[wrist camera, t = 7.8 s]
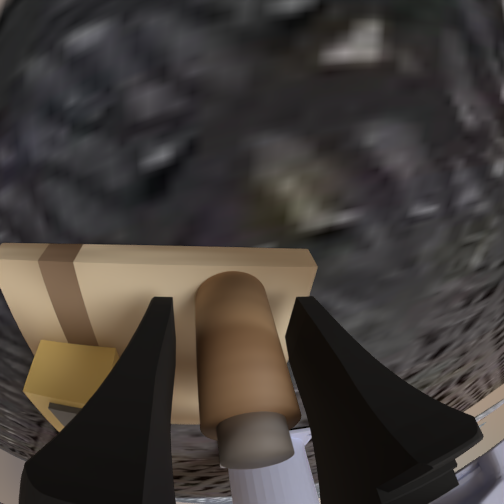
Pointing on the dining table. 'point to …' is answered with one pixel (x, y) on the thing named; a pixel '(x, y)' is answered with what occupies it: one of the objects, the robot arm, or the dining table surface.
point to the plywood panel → (138, 295)
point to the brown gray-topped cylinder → (242, 373)
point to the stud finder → (66, 378)
